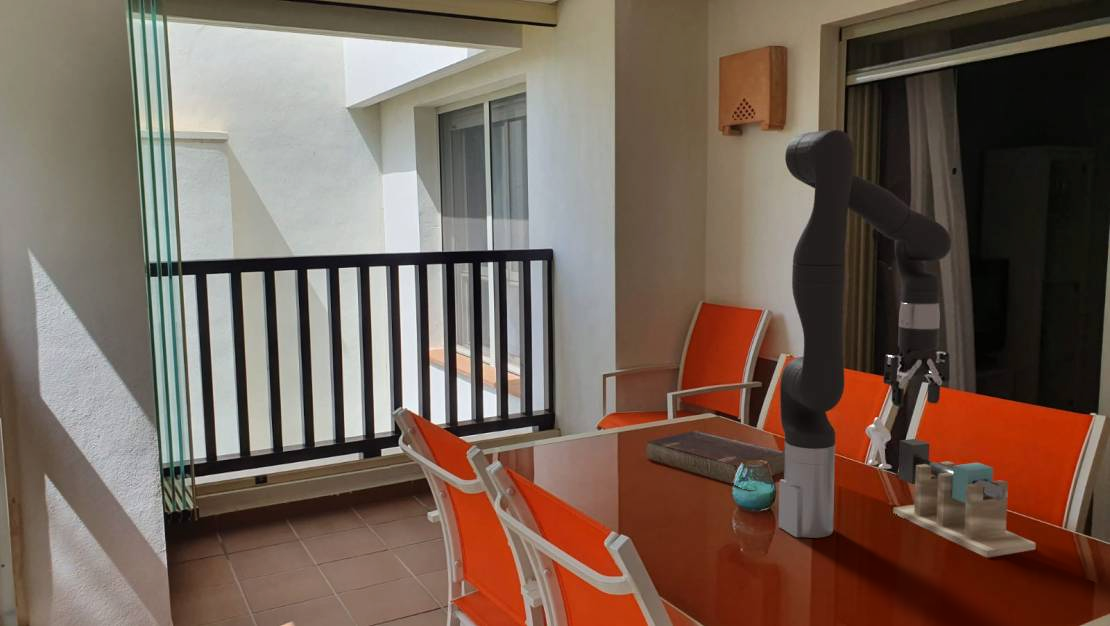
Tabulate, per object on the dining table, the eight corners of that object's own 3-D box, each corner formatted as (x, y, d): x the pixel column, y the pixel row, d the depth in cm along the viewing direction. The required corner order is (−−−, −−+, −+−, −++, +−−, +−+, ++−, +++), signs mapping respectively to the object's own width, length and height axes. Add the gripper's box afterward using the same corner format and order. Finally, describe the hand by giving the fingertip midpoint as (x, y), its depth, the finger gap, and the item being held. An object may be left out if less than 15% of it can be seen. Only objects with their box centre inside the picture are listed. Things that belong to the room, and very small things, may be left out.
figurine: (895, 469, 202) (896, 419, 201) (881, 471, 201) (883, 421, 199) (872, 461, 209) (874, 413, 207) (859, 463, 207) (861, 415, 206)
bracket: (893, 513, 173) (895, 460, 171) (937, 507, 176) (939, 455, 175) (986, 557, 150) (989, 497, 149) (1035, 549, 153) (1038, 490, 152)
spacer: (952, 497, 161) (953, 465, 160) (976, 494, 162) (978, 462, 162) (966, 503, 157) (968, 471, 156) (991, 500, 159) (993, 467, 158)
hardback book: (789, 471, 203) (790, 451, 203) (740, 488, 191) (740, 466, 191) (696, 447, 225) (696, 428, 225) (646, 460, 213) (646, 441, 213)
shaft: (898, 478, 176) (899, 440, 175) (914, 476, 177) (915, 438, 176) (990, 516, 153) (992, 473, 152) (1008, 514, 154) (1010, 471, 153)
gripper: (902, 328, 165) (899, 411, 167) (961, 325, 170) (957, 405, 171) (876, 324, 172) (873, 403, 174) (934, 321, 177) (930, 398, 178)
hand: (915, 404), depth 173 cm, fingers open, 8 cm apart
